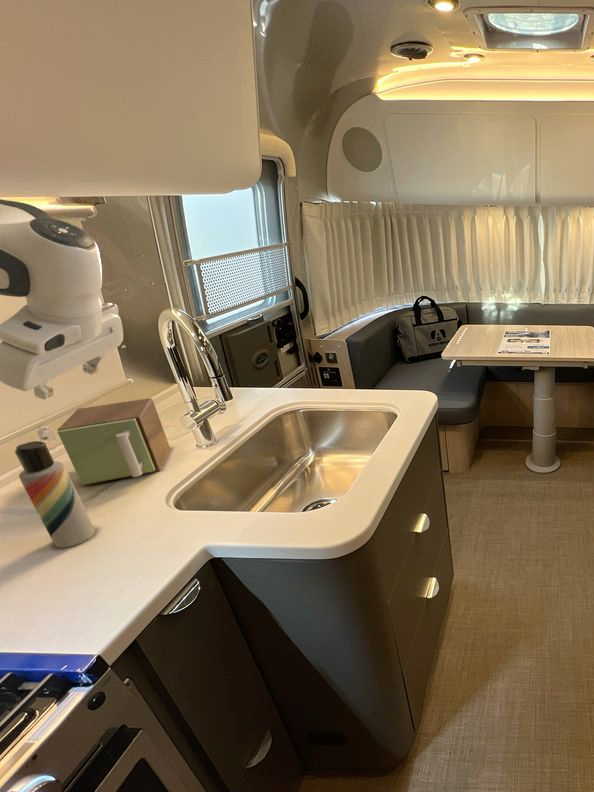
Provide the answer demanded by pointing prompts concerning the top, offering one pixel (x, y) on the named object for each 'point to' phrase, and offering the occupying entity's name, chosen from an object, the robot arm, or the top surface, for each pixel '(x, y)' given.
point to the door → (107, 451)
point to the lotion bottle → (53, 495)
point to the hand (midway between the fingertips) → (68, 383)
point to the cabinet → (124, 411)
